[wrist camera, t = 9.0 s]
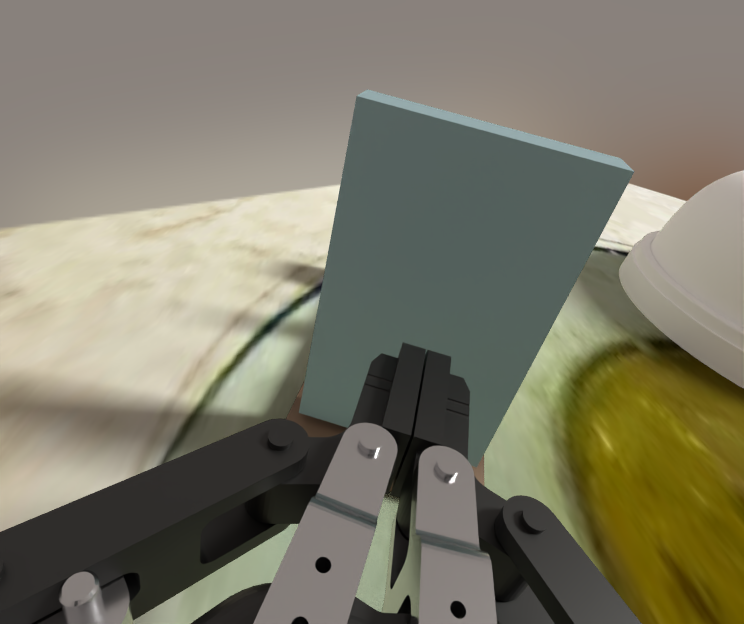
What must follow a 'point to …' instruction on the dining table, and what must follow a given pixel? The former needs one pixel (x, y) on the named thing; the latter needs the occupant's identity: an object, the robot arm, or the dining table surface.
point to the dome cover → (696, 277)
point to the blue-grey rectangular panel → (451, 252)
